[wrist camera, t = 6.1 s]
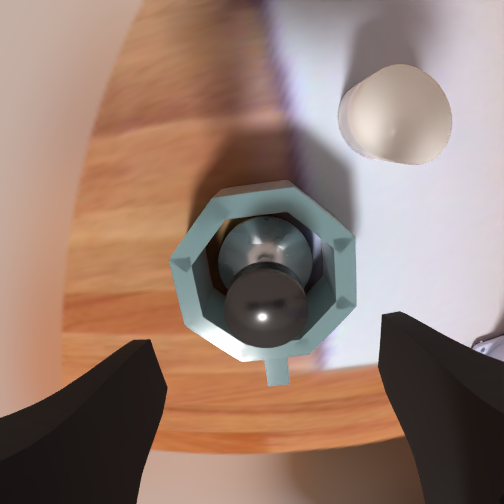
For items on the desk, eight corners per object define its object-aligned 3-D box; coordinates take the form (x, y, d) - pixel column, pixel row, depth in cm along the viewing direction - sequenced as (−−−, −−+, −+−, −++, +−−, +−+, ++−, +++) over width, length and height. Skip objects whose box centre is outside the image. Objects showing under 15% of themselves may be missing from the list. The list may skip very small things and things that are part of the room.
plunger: (306, 210, 17) (328, 242, 11) (313, 296, 18) (332, 357, 13) (212, 222, 17) (187, 259, 11) (227, 306, 19) (214, 370, 13)
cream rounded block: (405, 83, 14) (443, 67, 10) (414, 158, 16) (456, 163, 12) (331, 83, 15) (354, 62, 11) (342, 162, 16) (368, 167, 12)
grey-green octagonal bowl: (333, 174, 16) (351, 181, 13) (342, 341, 19) (354, 375, 16) (177, 195, 17) (157, 206, 14) (212, 356, 20) (204, 391, 17)
